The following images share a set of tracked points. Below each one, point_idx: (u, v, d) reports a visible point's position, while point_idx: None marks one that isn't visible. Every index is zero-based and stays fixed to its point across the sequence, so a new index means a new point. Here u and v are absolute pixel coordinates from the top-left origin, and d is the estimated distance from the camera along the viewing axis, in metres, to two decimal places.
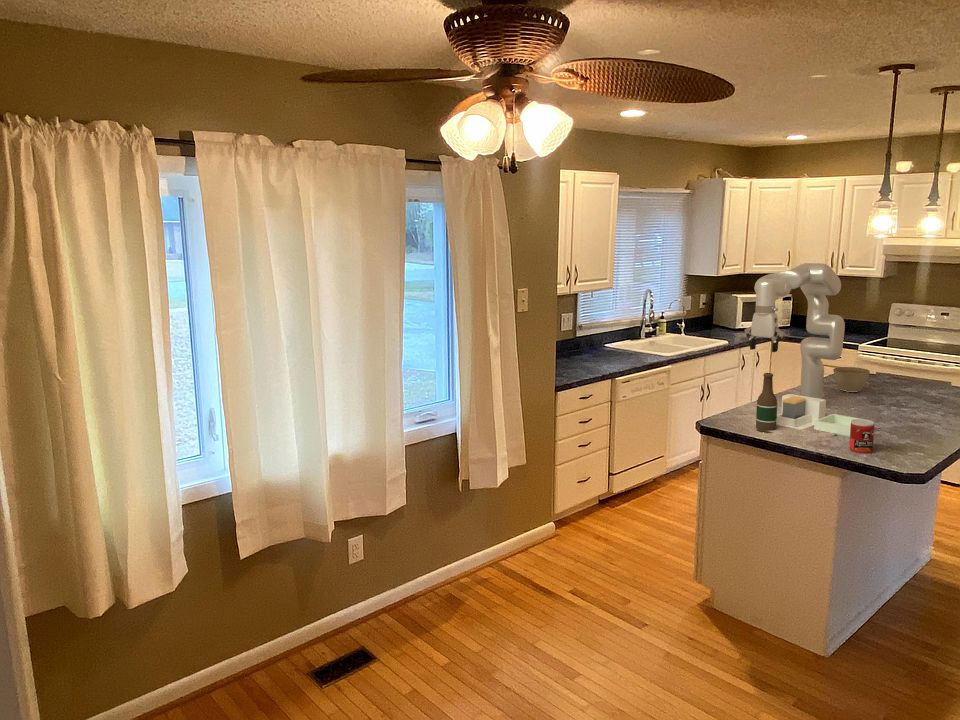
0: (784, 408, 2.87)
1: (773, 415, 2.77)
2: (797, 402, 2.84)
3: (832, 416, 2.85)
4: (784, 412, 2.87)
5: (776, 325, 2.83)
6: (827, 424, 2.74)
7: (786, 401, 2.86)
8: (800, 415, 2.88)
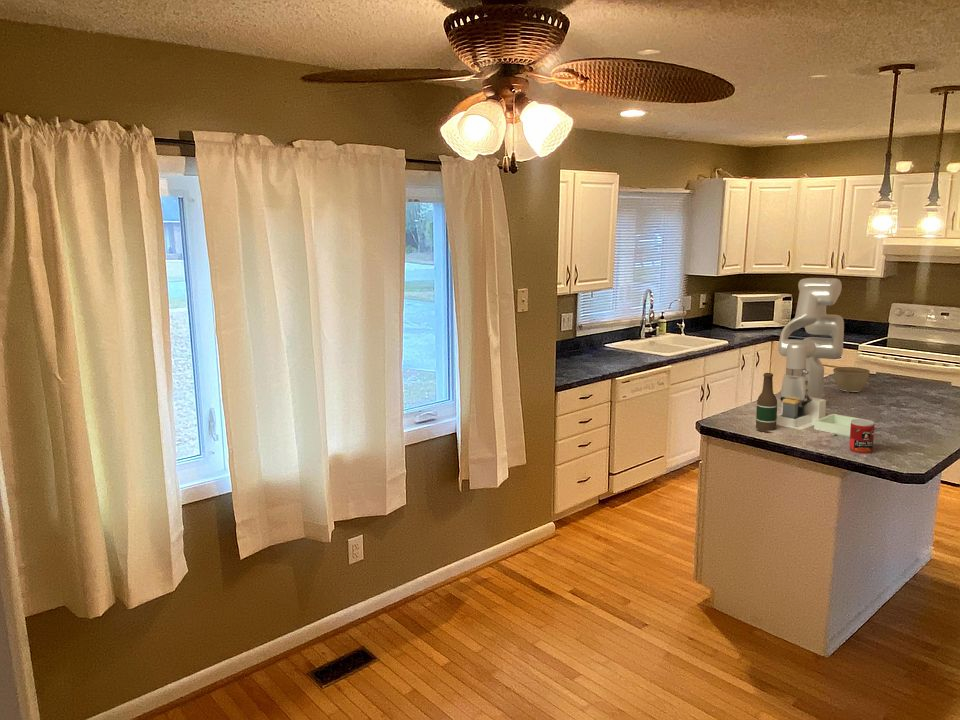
0: (784, 408, 2.87)
1: (773, 415, 2.77)
2: (797, 402, 2.84)
3: (832, 416, 2.85)
4: (784, 412, 2.87)
5: (807, 388, 2.83)
6: (827, 424, 2.74)
7: (786, 401, 2.86)
8: None
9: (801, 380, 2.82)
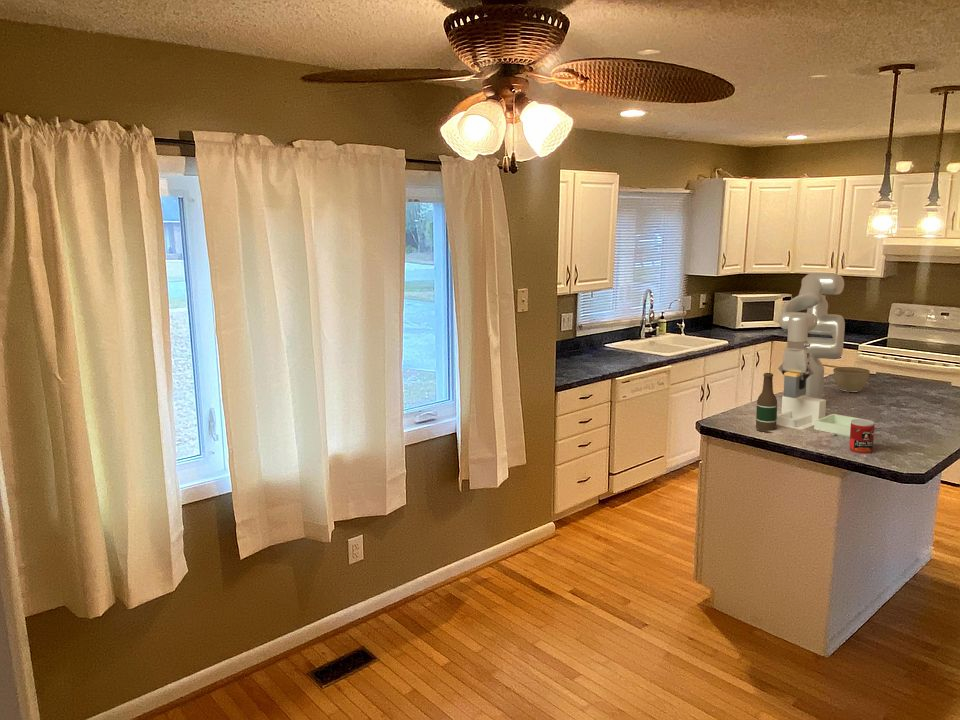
0: (785, 381, 2.85)
1: (773, 415, 2.77)
2: (799, 375, 2.83)
3: (832, 416, 2.85)
4: (786, 385, 2.85)
5: (808, 360, 2.81)
6: (827, 424, 2.74)
7: (788, 374, 2.84)
8: None
9: (803, 353, 2.80)
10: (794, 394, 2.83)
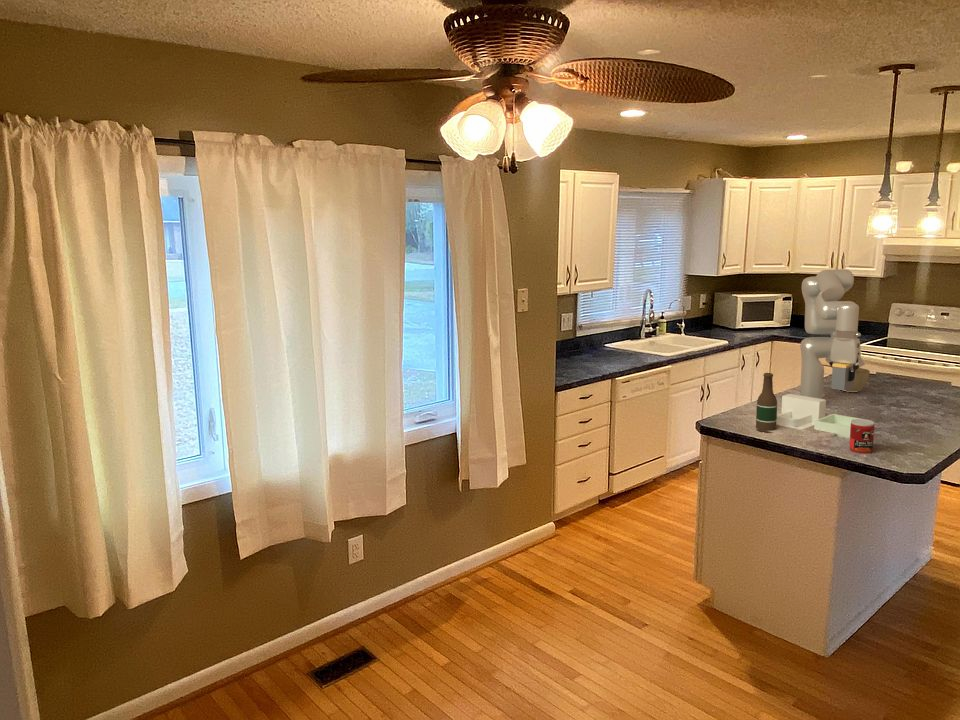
0: (833, 373, 2.72)
1: (773, 415, 2.77)
2: (848, 366, 2.70)
3: (832, 416, 2.85)
4: (834, 377, 2.72)
5: (859, 351, 2.68)
6: (827, 424, 2.74)
7: (836, 365, 2.71)
8: None
9: (853, 343, 2.67)
10: (843, 386, 2.70)
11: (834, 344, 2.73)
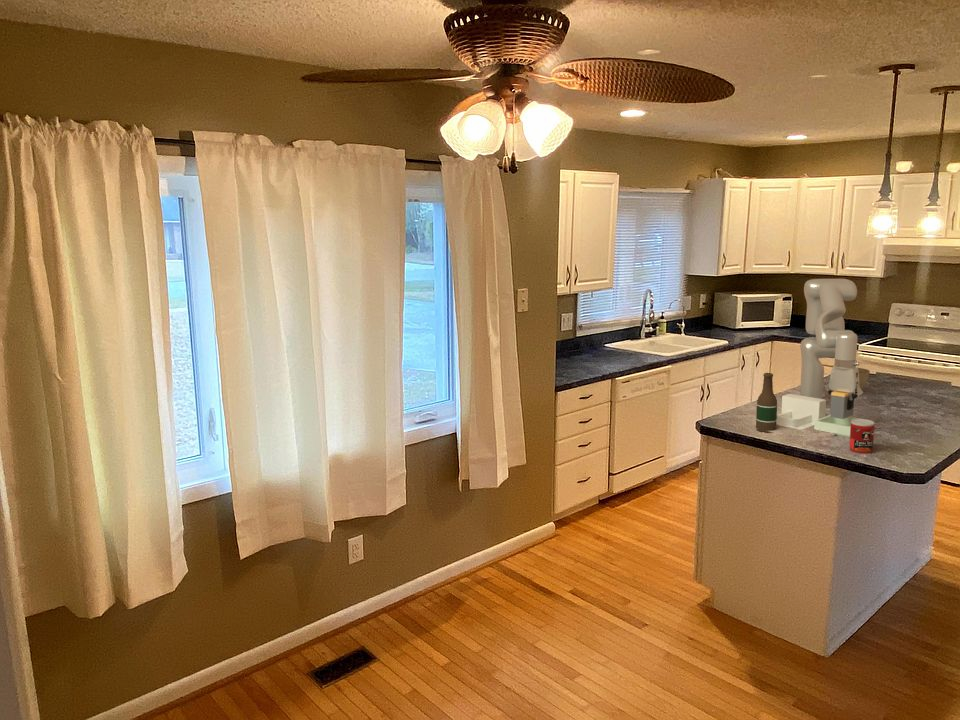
0: (832, 401, 2.74)
1: (773, 415, 2.77)
2: (847, 395, 2.71)
3: None
4: (833, 405, 2.74)
5: (857, 380, 2.70)
6: (827, 424, 2.74)
7: (835, 394, 2.73)
8: None
9: (851, 372, 2.69)
10: (842, 415, 2.72)
11: (833, 373, 2.75)
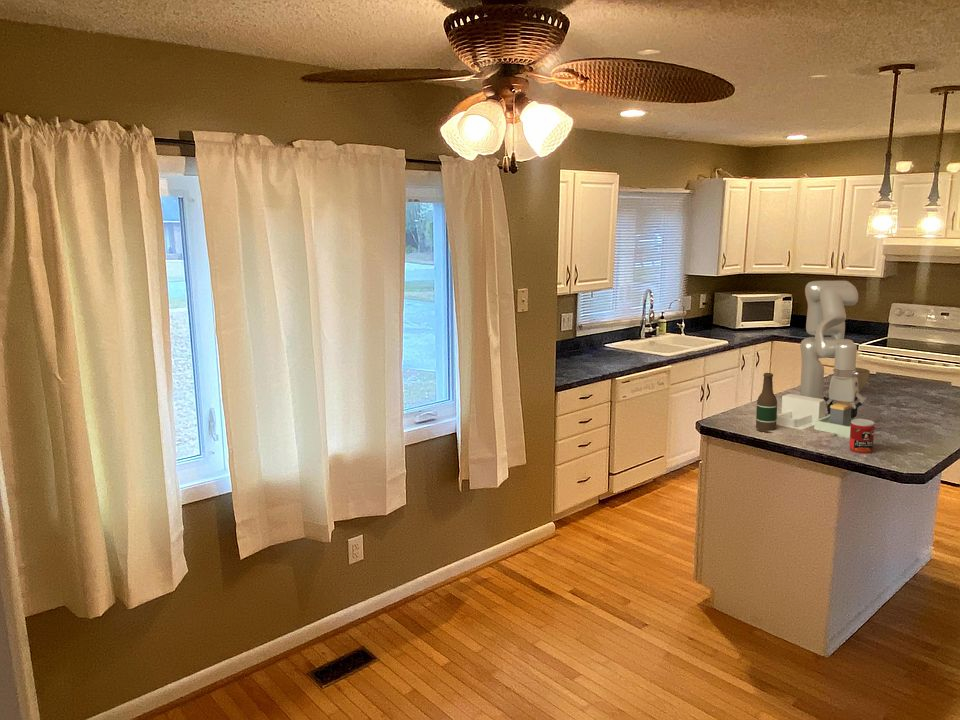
0: (831, 414, 2.75)
1: (773, 415, 2.77)
2: (846, 408, 2.73)
3: None
4: (832, 418, 2.75)
5: (856, 389, 2.71)
6: (827, 424, 2.74)
7: (834, 407, 2.74)
8: (849, 421, 2.76)
9: (851, 381, 2.70)
10: None
11: (832, 382, 2.75)
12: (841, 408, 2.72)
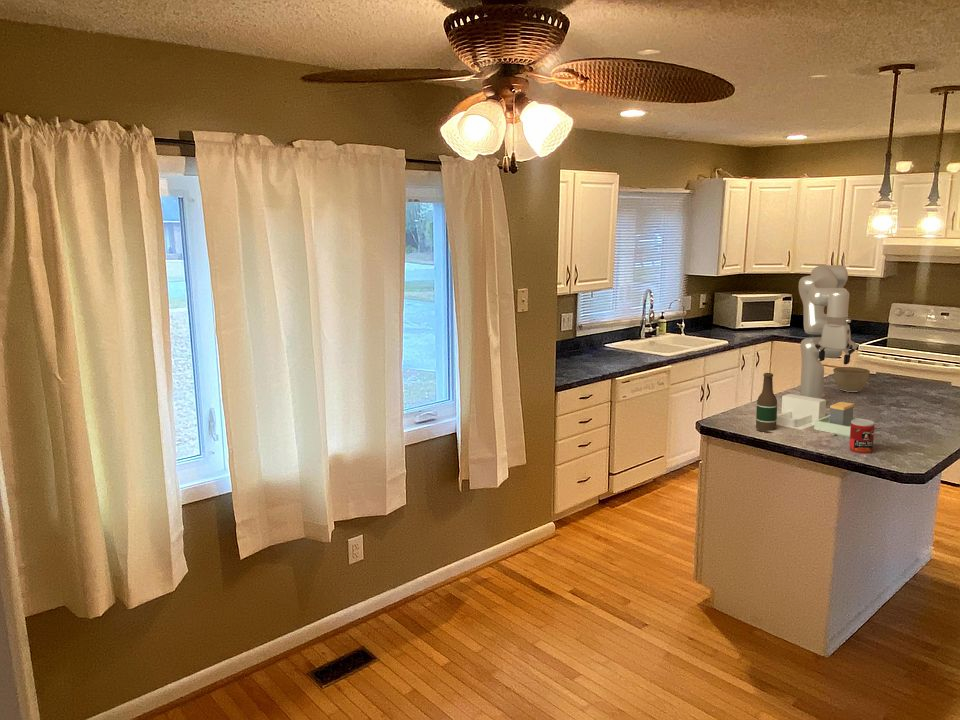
0: (831, 414, 2.75)
1: (773, 415, 2.77)
2: (846, 408, 2.73)
3: None
4: (832, 418, 2.75)
5: (848, 337, 2.75)
6: (827, 424, 2.74)
7: (834, 407, 2.74)
8: (849, 421, 2.76)
9: (843, 329, 2.73)
10: None
11: (825, 330, 2.79)
12: (841, 408, 2.72)
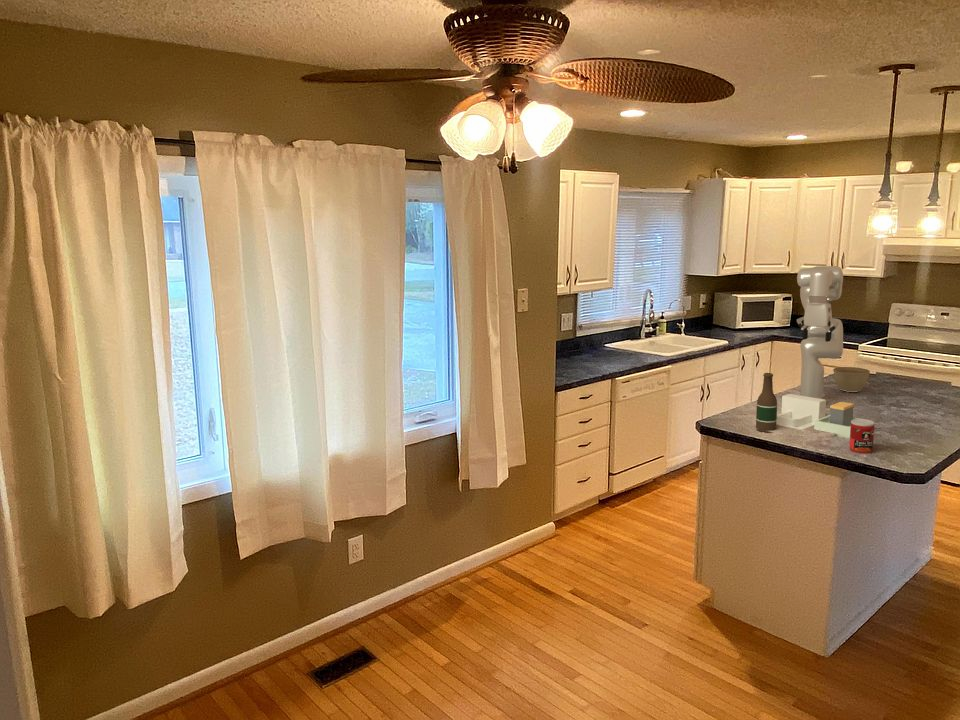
0: (831, 414, 2.75)
1: (773, 415, 2.77)
2: (846, 408, 2.73)
3: None
4: (832, 418, 2.75)
5: (830, 315, 2.86)
6: (827, 424, 2.74)
7: (834, 407, 2.74)
8: (849, 421, 2.76)
9: (824, 307, 2.85)
10: None
11: (807, 309, 2.90)
12: (841, 408, 2.72)
